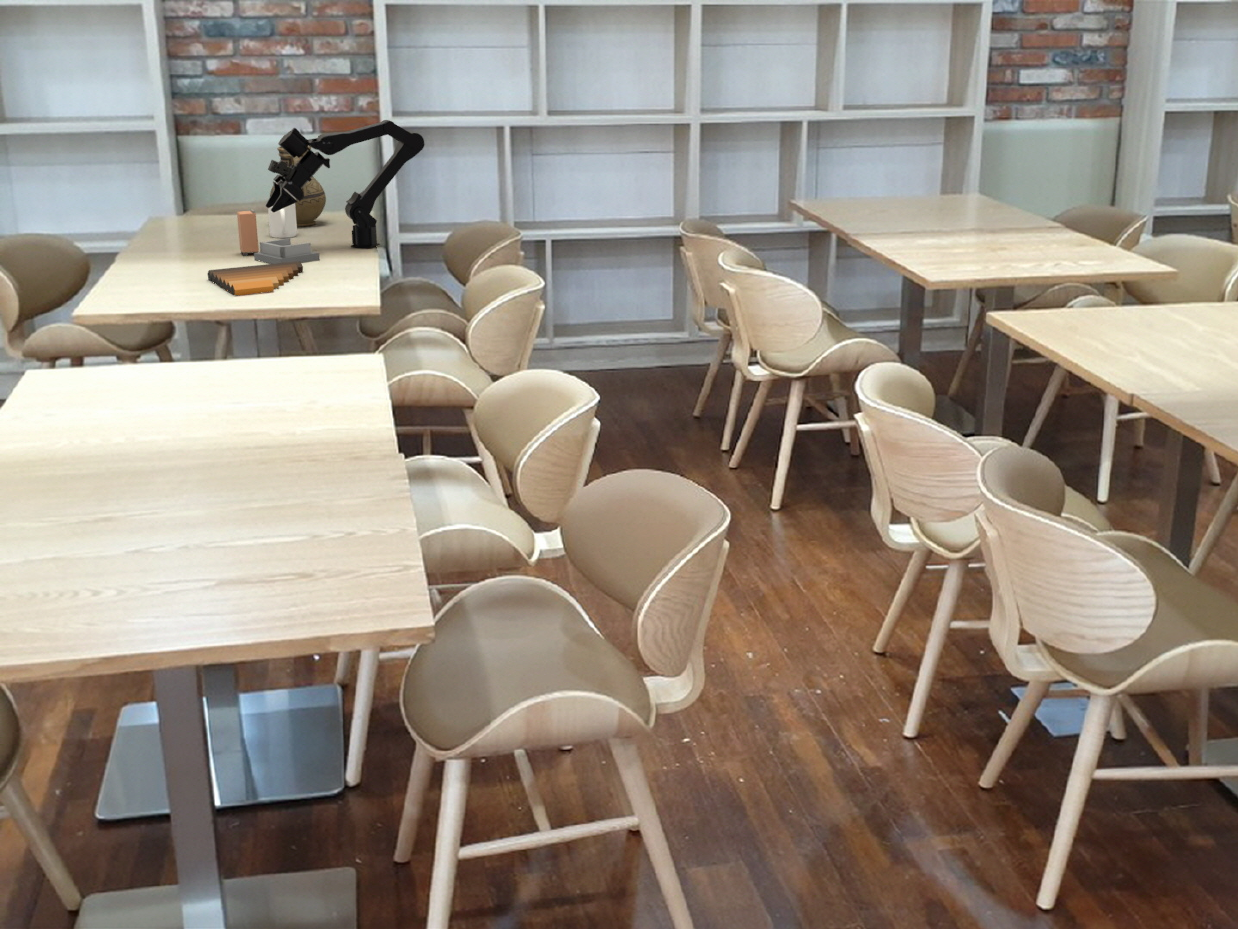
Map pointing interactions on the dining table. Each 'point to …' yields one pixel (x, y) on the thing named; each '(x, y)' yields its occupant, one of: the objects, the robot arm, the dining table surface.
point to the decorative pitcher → (306, 195)
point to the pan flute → (255, 277)
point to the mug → (283, 222)
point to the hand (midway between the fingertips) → (269, 209)
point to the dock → (285, 252)
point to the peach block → (247, 232)
